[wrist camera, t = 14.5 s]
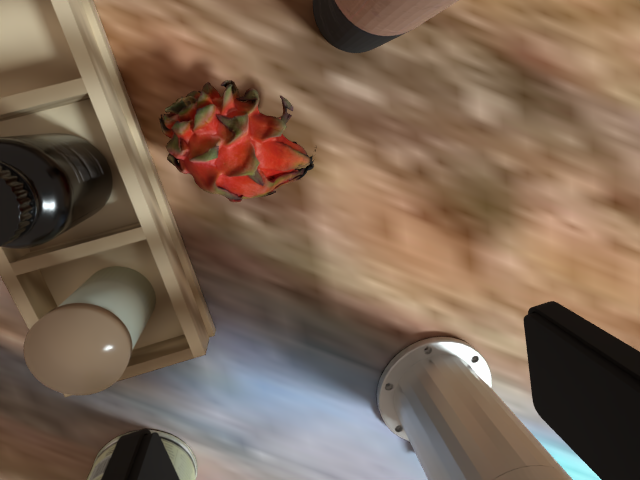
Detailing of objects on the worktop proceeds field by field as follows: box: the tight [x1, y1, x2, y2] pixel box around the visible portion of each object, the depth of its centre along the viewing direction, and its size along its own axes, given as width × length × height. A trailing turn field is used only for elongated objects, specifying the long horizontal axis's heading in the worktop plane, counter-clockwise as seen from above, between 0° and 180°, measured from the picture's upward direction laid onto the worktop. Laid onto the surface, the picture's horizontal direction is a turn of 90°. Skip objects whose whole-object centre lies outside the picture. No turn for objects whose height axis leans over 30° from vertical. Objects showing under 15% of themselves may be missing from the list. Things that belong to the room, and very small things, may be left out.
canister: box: [24, 266, 156, 395], centre depth 32 cm, size 6×6×9 cm
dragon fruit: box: [159, 80, 317, 202], centre depth 32 cm, size 8×8×12 cm
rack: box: [0, 0, 216, 397], centre depth 32 cm, size 34×13×4 cm, turn 14°
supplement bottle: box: [0, 133, 113, 249], centre depth 27 cm, size 7×7×12 cm
